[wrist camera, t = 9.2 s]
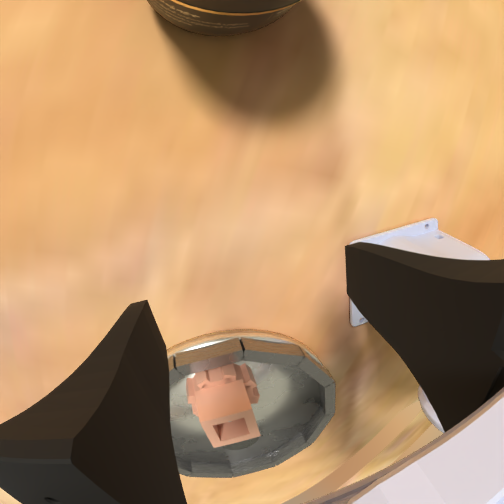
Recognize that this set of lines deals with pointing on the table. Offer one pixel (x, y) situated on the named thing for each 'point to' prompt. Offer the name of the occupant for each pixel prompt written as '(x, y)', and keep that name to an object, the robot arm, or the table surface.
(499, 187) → the table surface
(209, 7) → the jar
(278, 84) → the table surface
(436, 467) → the robot arm
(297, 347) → the plate
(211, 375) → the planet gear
